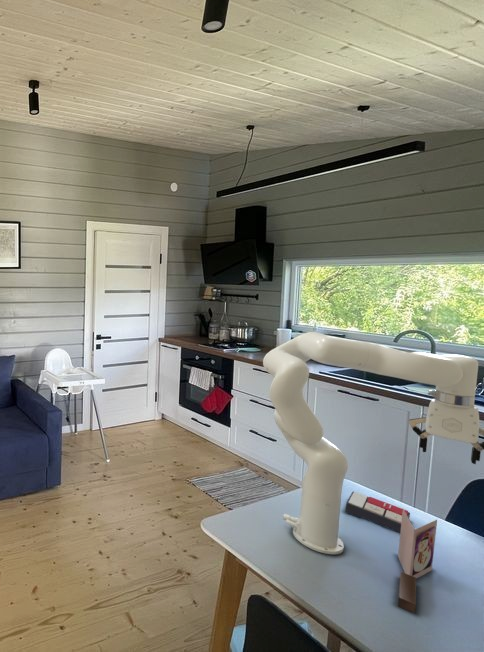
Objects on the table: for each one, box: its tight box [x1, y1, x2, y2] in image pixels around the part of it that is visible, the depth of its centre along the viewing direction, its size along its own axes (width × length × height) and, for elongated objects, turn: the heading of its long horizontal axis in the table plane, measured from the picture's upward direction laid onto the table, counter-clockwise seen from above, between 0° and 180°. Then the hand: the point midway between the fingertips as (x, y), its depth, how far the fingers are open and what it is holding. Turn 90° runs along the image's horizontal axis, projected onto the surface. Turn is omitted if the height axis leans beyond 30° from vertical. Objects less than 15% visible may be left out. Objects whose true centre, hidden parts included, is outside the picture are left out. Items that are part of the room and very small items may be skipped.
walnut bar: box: [397, 571, 417, 614], centre depth 102 cm, size 3×12×2 cm, turn 135°
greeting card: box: [397, 508, 438, 579], centre depth 111 cm, size 11×7×15 cm, turn 112°
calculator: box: [344, 491, 411, 534], centre depth 134 cm, size 11×4×15 cm
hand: (448, 456), depth 114 cm, fingers open, 9 cm apart
